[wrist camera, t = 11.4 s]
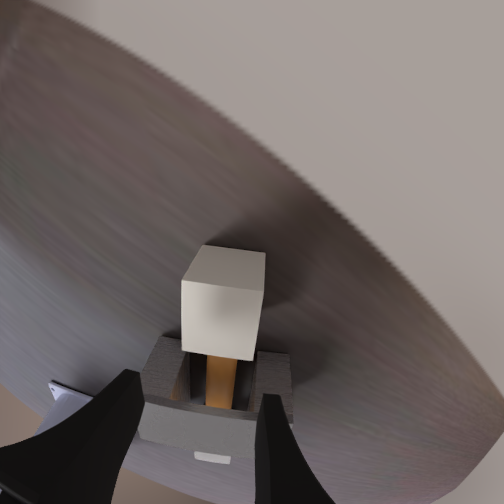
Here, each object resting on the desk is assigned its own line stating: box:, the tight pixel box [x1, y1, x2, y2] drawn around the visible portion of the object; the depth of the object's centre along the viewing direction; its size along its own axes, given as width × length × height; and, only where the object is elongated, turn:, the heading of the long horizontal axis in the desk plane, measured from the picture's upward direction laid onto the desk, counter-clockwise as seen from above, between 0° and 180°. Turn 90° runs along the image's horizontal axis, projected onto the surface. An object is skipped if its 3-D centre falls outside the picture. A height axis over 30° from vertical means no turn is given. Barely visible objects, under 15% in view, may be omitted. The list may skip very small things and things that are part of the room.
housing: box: [138, 336, 294, 459], centre depth 20 cm, size 8×10×7 cm
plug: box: [181, 245, 266, 464], centre depth 20 cm, size 20×4×5 cm, turn 173°
